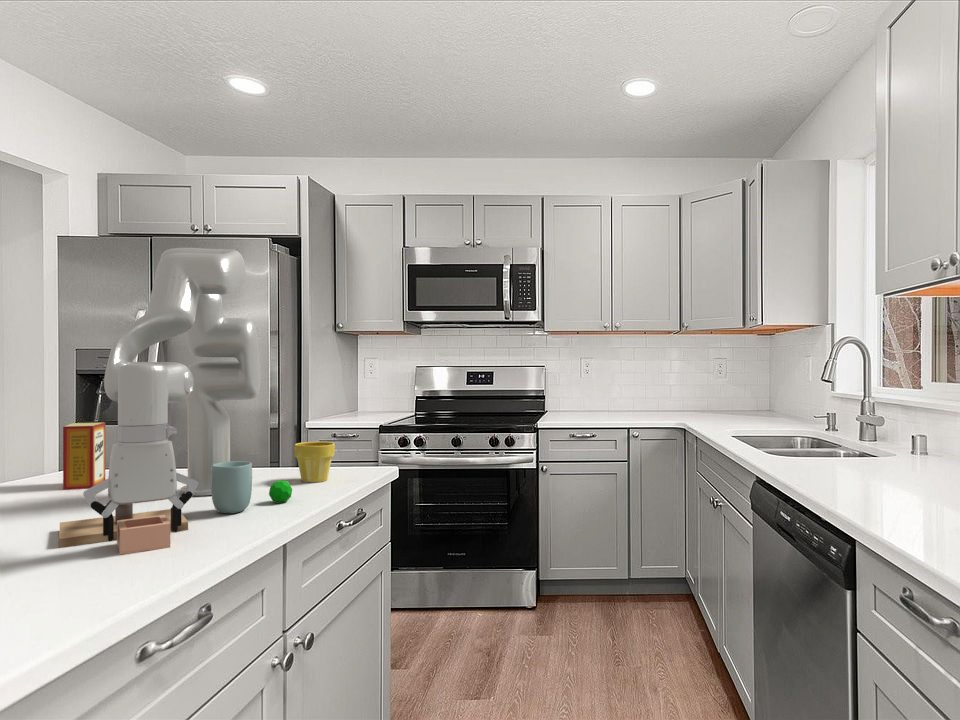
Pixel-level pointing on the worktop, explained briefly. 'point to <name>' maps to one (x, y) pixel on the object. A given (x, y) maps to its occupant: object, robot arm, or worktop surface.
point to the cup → (231, 486)
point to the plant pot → (314, 460)
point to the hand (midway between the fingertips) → (143, 534)
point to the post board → (93, 528)
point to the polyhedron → (280, 491)
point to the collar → (143, 534)
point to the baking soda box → (83, 455)
